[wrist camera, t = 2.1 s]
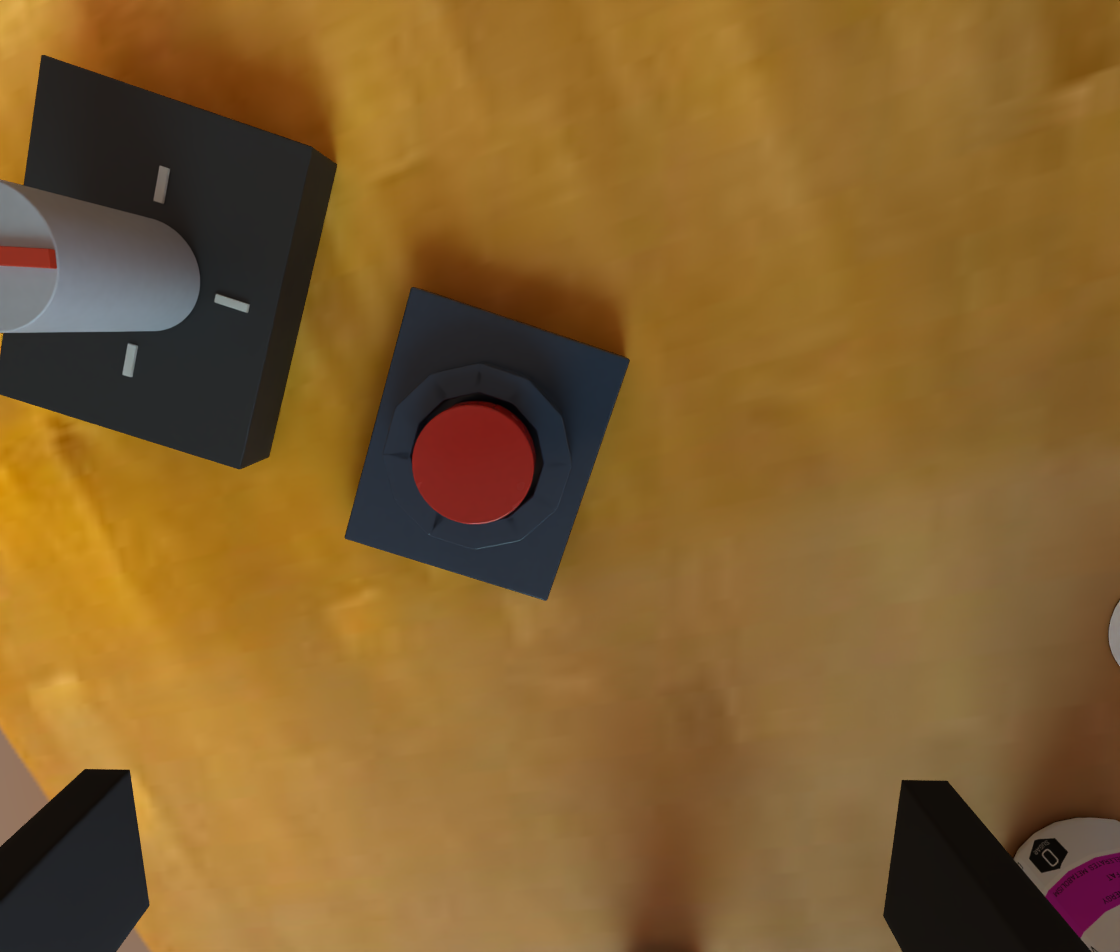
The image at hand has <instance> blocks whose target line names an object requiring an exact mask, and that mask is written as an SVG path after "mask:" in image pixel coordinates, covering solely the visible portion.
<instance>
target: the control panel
mask: <svg viewBox="0 0 1120 952" xmlns="http://www.w3.org/2000/svg"><path fill="white" fill-rule="evenodd" d="M336 168H337V164H336V163H334V162H333V161H331V160H330V159H329V158H327V157H326V156H324V155H323V154H321V153H320V152H319V151H317V150H316V149H314V148H313V147H311V146H308V145H305V144H302V143H300V142H297V141H294V140H291V139H288V138H285V137H282V136H279V135H276V134H273V133H270V132H267V131H265V130H262V129H259V128H256V127H253V126H250V125H247V124H244V123H241V122H238V121H235V120H232V119H230V118H227V117H224V116H221V115H218V114H215V113H212V112H209V111H206V110H203V109H200V108H197V107H195V106H192V105H189V104H186V103H183V102H180V101H177V100H174V99H171V98H168V97H165V96H162V95H160V94H157V93H154V92H151V91H148V90H145V89H142V88H139V87H136V86H133V85H130V84H127V83H125V82H122V81H119V80H116V79H113V78H110V77H107V76H104V75H101V74H98V73H95V72H92V71H89V70H87V69H84V68H81V67H78V66H75V65H72V64H69V63H66V62H63V61H60V60H57V59H54V58H52V57H49V56H46V55H42V56H41V63H40V70H39V78H38V85H37V92H36V99H35V107H34V114H33V121H32V129H31V136H30V143H29V150H28V158H27V165H26V172H25V180H24V186H28V187H31V188H35V189H39V190H43V191H47V192H51V193H55V194H58V195H62V196H66V197H70V198H74V199H78V200H82V201H86V202H89V203H93V204H97V205H101V206H105V207H109V208H113V209H117V210H120V211H124V212H128V213H132V214H136V215H140V216H144V217H147V218H151V219H155V220H158V221H160V222H162V223H164V224H166V225H168V226H169V227H171V228H172V229H174V230H175V231H176V232H177V233H178V234H179V235H180V236H181V237H182V238H183V239H184V240H185V241H186V242H187V244H188V245H189V247H190V248H191V250H192V252H193V254H194V256H195V258H196V261H197V264H198V268H199V273H200V290H199V295H198V299H197V301H196V304H195V306H194V308H193V309H192V311H191V312H190V314H189V315H188V316H187V317H186V318H185V319H184V320H183V321H182V322H180V323H179V324H177V325H176V326H173V327H171V328H169V329H165V330H161V331H125V332H37V333H3V340H2V347H1V354H0V395H3V396H7V397H10V398H13V399H16V400H19V401H23V402H26V403H29V404H32V405H35V406H39V407H42V408H45V409H48V410H51V411H54V412H58V413H61V414H64V415H67V416H70V417H74V418H77V419H80V420H83V421H86V422H90V423H93V424H96V425H99V426H102V427H106V428H109V429H112V430H115V431H118V432H122V433H125V434H128V435H131V436H134V437H138V438H141V439H144V440H147V441H150V442H153V443H157V444H160V445H163V446H166V447H169V448H173V449H176V450H179V451H182V452H185V453H189V454H192V455H195V456H198V457H201V458H205V459H208V460H211V461H214V462H217V463H221V464H224V465H227V466H230V467H233V468H237V469H242V468H244V467H247V466H249V465H251V464H254V463H256V462H258V461H261V460H263V459H265V458H268V457H269V455H270V450H271V446H272V442H273V438H274V433H275V429H276V425H277V420H278V416H279V412H280V408H281V403H282V399H283V395H284V390H285V386H286V382H287V378H288V373H289V369H290V365H291V360H292V356H293V352H294V348H295V343H296V339H297V335H298V330H299V326H300V322H301V318H302V313H303V309H304V305H305V300H306V296H307V292H308V288H309V283H310V279H311V275H312V270H313V266H314V262H315V258H316V253H317V249H318V245H319V240H320V236H321V232H322V228H323V223H324V219H325V215H326V211H327V206H328V202H329V198H330V193H331V189H332V185H333V181H334V176H335V172H336Z"/></svg>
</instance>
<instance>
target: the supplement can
mask: <svg viewBox="0 0 1120 952" xmlns="http://www.w3.org/2000/svg"><path fill="white" fill-rule="evenodd" d="M1014 860H1015V862H1016V863H1017V864H1018V865H1019V866H1020V868H1021V869H1022V870H1023V871H1024V872H1025V873H1026V875H1027V876H1028V877H1029V878H1030V879H1031V881H1032V882H1033V883H1034V884H1035V885H1036V886H1037V888H1038V889H1039V890H1040V891H1041V892H1042V894H1043V895H1044V896H1045V897H1046V898H1047V899H1048V901H1049V902H1050V903H1051V904H1052V905H1053V907H1054V908H1055V909H1056V910H1057V911H1058V912H1059V914H1060V915H1061V916H1062V917H1063V918H1064V920H1065V921H1066V922H1067V923H1068V924H1069V925H1070V927H1071V928H1072V929H1073V930H1074V931H1075V933H1076V934H1077V935H1078V936H1079V937H1080V938H1081V940H1082V941H1083V942H1084V943H1085V944H1086V946H1087V947H1088V948H1089V949H1090V950H1091V951H1092V952H1120V822H1119V821H1117V820H1113V819H1101V818H1089V817H1088V818H1073V819H1068V820H1064V821H1059V822H1054V823H1053V824H1051V825H1049V826H1047V827H1045V828H1043V829H1041V830H1039V831H1037V832H1036V833H1034V834H1033V835H1032V836H1031V837H1030V838H1029V839H1028V840H1027V841H1026V842H1025V843H1024V844H1023V845H1022V846H1021V847H1020V848H1019V849H1018V851H1017V853H1016V855H1015V857H1014Z"/></svg>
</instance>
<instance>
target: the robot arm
mask: <svg viewBox="0 0 1120 952" xmlns="http://www.w3.org/2000/svg"><path fill="white" fill-rule="evenodd" d="M148 907H149V899H148V892H147V885H146V878H145V871H144V865H143V858H142V851H141V844H140V837H139V830H138V824H137V817H136V810H135V803H134V796H133V789H132V783H131V776H130V770H105V769H85V770H83V771H82V772H81V773H80V774H79V775H78V776H77V777H76V778H75V779H74V780H73V781H71V782H70V783H69V784H68V785H67V786H66V787H65V788H64V789H63V790H62V791H61V792H59V793H58V794H57V795H56V796H55V797H54V798H53V799H52V800H51V801H50V802H49V803H48V804H46V805H45V806H44V807H43V808H42V809H41V810H40V811H39V812H38V813H37V814H36V815H35V816H34V817H33V818H31V819H30V820H29V821H28V822H27V823H26V824H25V825H24V826H22V827H21V828H20V829H19V830H18V831H17V832H16V833H15V834H14V835H13V836H12V837H11V838H10V839H8V840H7V841H6V842H5V843H4V844H3V845H2V846H1V847H0V952H116V951H117V950H118V948H119V947H120V946H121V944H122V943H123V941H124V940H125V939H126V937H127V936H128V934H129V933H130V932H131V930H132V929H133V928H134V926H135V925H136V923H137V922H138V921H139V919H140V918H141V916H142V915H143V914H144V912H145V911H146V910H147V908H148ZM883 916H884V918H885V920H886V922H887V924H888V926H889V928H890V929H891V931H892V933H893V935H894V937H895V939H896V940H897V942H898V944H899V946H900V948H901V950H902V952H1092V951H1091V950H1090V949H1089V948H1088V947H1087V946H1086V944H1085V943H1084V942H1083V941H1082V940H1081V938H1080V937H1079V936H1078V935H1077V934H1076V933H1075V931H1074V930H1073V929H1072V928H1071V927H1070V925H1069V924H1068V923H1067V922H1066V921H1065V920H1064V918H1063V917H1062V916H1061V915H1060V914H1059V912H1058V911H1057V910H1056V909H1055V908H1054V907H1053V905H1052V904H1051V903H1050V902H1049V901H1048V899H1047V898H1046V897H1045V896H1044V895H1043V894H1042V892H1041V891H1040V890H1039V889H1038V888H1037V886H1036V885H1035V884H1034V883H1033V882H1032V881H1031V879H1030V878H1029V877H1028V876H1027V875H1026V873H1025V872H1024V871H1023V870H1022V869H1021V868H1020V866H1019V865H1018V864H1017V863H1016V862H1015V860H1014V859H1013V858H1012V857H1011V856H1010V855H1009V853H1008V852H1007V851H1006V850H1005V849H1004V847H1003V846H1002V845H1001V844H1000V843H999V842H998V840H997V839H996V838H995V837H994V836H993V834H992V833H991V832H990V831H989V830H988V829H987V827H986V826H985V825H984V824H983V823H982V821H981V820H980V819H979V818H978V817H977V815H976V814H975V813H974V812H973V811H972V810H971V808H970V807H969V806H968V805H967V804H966V802H965V801H964V800H963V799H962V798H961V797H960V795H959V794H958V793H957V792H956V791H955V789H954V788H953V787H952V786H951V785H950V784H949V782H948V781H920V780H902V783H901V790H900V798H899V805H898V812H897V820H896V827H895V834H894V841H893V849H892V856H891V863H890V871H889V878H888V885H887V892H886V900H885V907H884V914H883Z"/></svg>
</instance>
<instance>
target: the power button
mask: <svg viewBox="0 0 1120 952" xmlns="http://www.w3.org/2000/svg"><path fill="white" fill-rule="evenodd" d="M535 464H536V454H535V447H534V444H533V440H532V438H531V435H530V433H529V431H528V430H527V428H526V426H525V425H524V424H523V423H522V421H521V420H520V419H519V418H518V417H517V416H516V415H515V414H513V413H512V412H511V411H509V410H508V409H506V408H504V407H502V406H500V405H497V404H495V403H491V402H487V401H466V402H462V403H458V404H455V405H453V406H451V407H449V408H447V409H446V410H444V411H442V412H441V413H439V414H438V415H436V416H435V417H434V418H433V419H431V420H430V421H429V422H428V423H427V424H426V426H425V427H424V428H423V429H422V431H421V432H420V434H419V436H418V438H417V440H416V443H415V446H414V449H413V454H412V471H413V476H414V480H415V483H416V486H417V488H418V490H419V492H420V494H421V495H422V497H423V498H424V500H425V501H426V502H427V503H428V504H429V505H430V506H431V507H432V508H433V509H434V510H435V511H436V512H438V513H439V514H441V515H442V516H444V517H446V518H448V519H450V520H453V521H456V522H459V523H463V524H486V523H490V522H494V521H496V520H499V519H501V518H503V517H505V516H507V515H508V514H510V513H511V512H512V511H514V510H515V509H516V508H517V507H518V506H519V505H520V503H521V502H522V501H523V500H524V498H525V496H526V495H527V493H528V491H529V489H530V486H531V483H532V479H533V475H534V471H535Z"/></svg>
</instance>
